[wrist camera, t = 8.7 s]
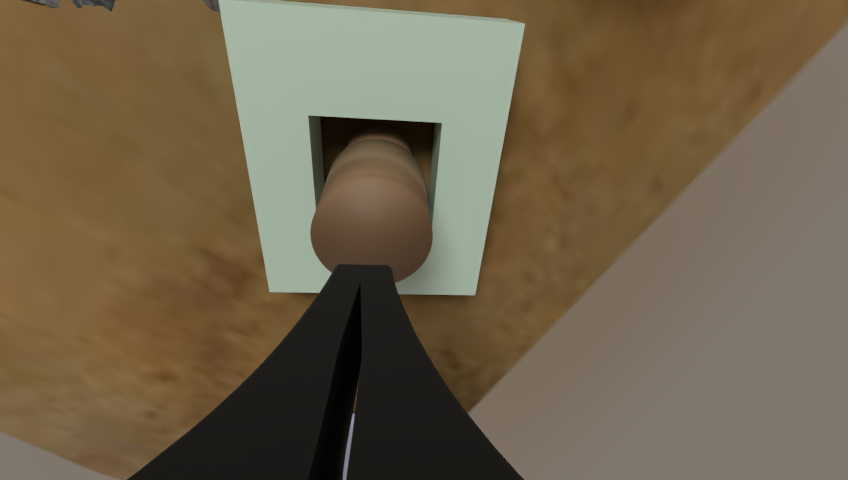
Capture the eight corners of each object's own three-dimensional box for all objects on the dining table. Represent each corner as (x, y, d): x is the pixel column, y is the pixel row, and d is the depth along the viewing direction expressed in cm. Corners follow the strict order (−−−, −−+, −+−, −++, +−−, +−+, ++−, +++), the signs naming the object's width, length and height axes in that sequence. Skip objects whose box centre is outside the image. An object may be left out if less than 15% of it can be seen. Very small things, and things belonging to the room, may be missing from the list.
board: (467, 265, 22) (475, 295, 20) (282, 261, 21) (269, 292, 19) (507, 18, 16) (525, 23, 13) (243, -3, 15) (218, -1, 12)
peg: (419, 195, 19) (430, 285, 14) (341, 195, 19) (317, 287, 13) (421, 117, 17) (435, 182, 11) (333, 116, 17) (302, 183, 11)
